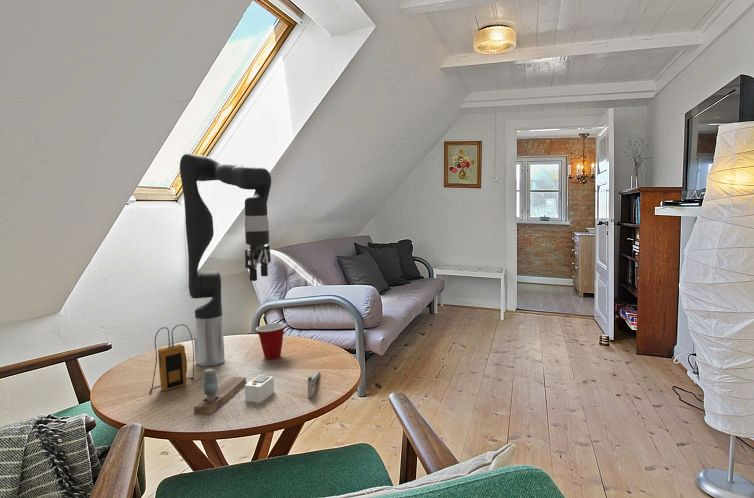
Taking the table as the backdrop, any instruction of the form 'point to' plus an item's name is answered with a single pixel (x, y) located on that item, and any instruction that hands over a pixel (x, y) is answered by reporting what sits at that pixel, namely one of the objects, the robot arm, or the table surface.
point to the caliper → (312, 383)
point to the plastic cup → (271, 339)
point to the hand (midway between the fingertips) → (259, 278)
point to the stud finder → (259, 388)
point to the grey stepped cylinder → (210, 384)
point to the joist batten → (220, 395)
